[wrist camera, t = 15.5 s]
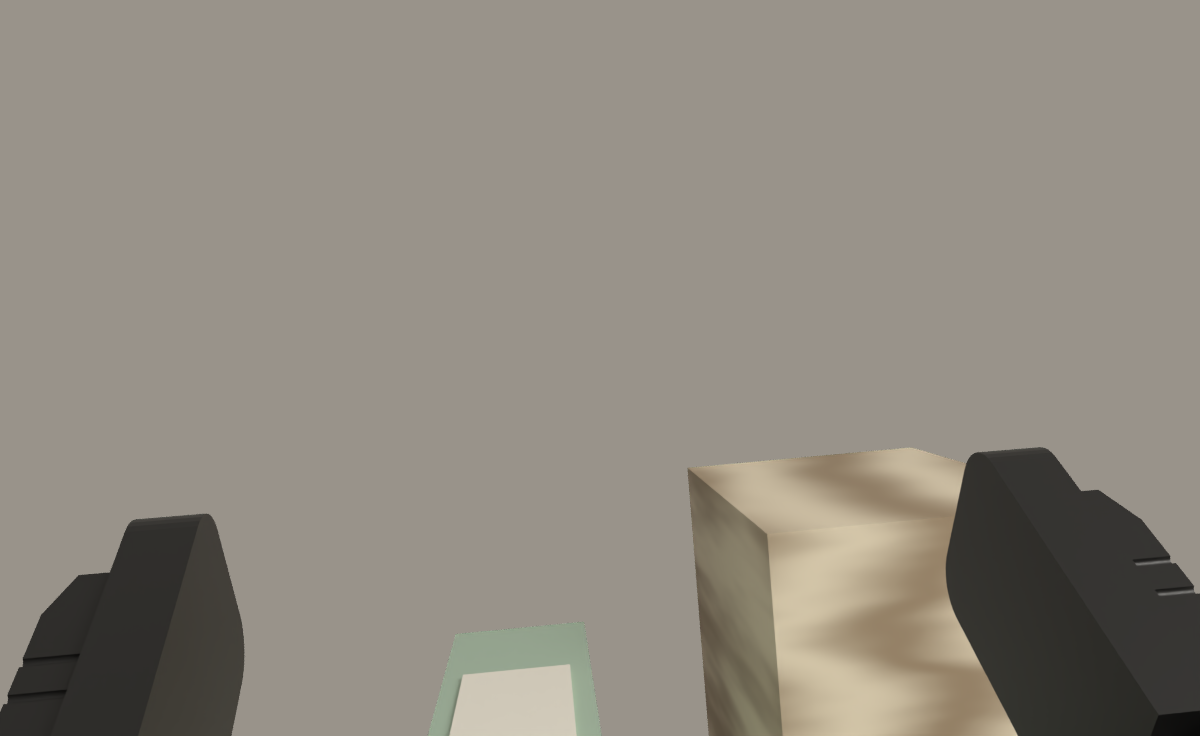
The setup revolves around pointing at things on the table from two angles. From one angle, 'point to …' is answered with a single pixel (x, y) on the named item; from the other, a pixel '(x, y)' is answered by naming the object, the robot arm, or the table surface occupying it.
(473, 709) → the pale green block bar
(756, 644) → the zigzag patterned pillar
